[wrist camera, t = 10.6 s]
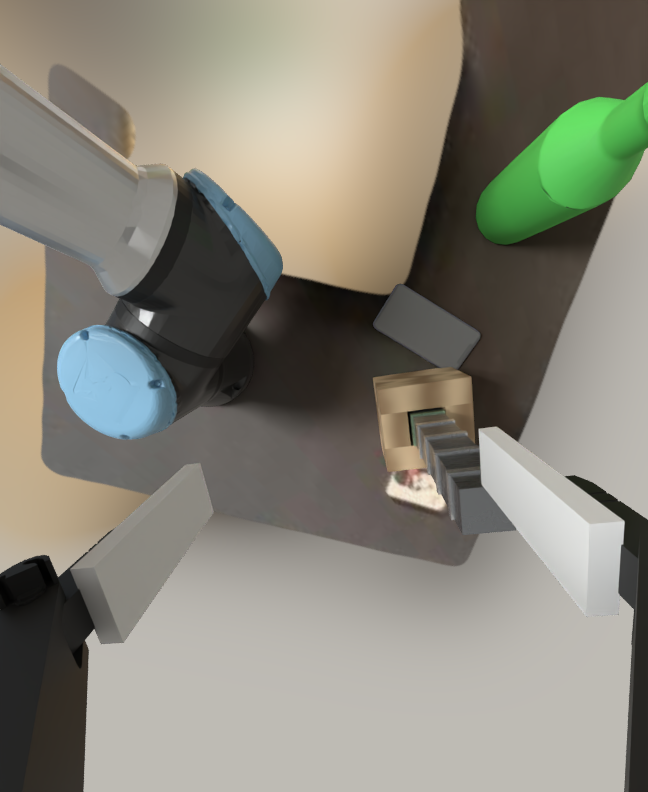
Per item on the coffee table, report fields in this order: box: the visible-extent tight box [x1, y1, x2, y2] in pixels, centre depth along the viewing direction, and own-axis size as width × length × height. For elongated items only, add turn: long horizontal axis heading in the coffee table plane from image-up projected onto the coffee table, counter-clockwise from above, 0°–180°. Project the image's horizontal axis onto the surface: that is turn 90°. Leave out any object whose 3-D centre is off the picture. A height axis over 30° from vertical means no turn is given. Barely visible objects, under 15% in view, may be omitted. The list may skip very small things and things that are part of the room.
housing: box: [373, 367, 475, 472], centre depth 46 cm, size 12×12×11 cm
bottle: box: [476, 82, 648, 245], centre depth 31 cm, size 9×9×25 cm
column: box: [408, 407, 516, 535], centre depth 35 cm, size 4×4×22 cm
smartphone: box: [373, 284, 480, 370], centre depth 48 cm, size 8×1×15 cm
